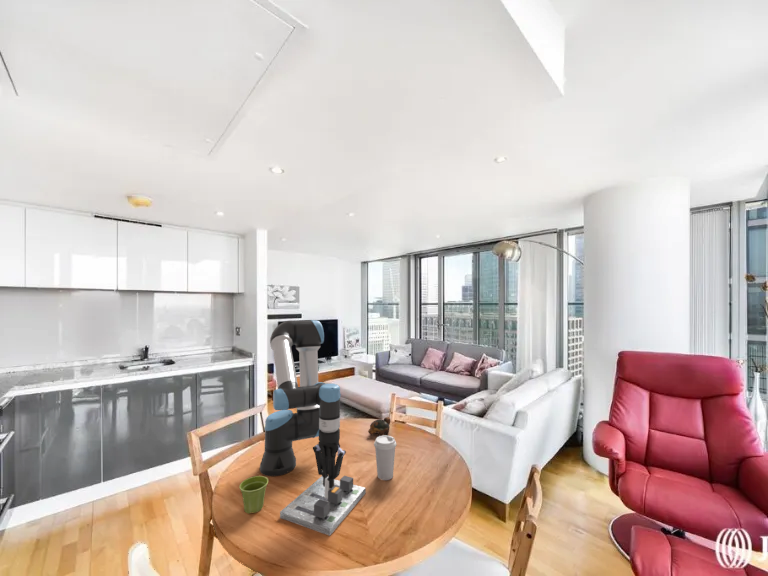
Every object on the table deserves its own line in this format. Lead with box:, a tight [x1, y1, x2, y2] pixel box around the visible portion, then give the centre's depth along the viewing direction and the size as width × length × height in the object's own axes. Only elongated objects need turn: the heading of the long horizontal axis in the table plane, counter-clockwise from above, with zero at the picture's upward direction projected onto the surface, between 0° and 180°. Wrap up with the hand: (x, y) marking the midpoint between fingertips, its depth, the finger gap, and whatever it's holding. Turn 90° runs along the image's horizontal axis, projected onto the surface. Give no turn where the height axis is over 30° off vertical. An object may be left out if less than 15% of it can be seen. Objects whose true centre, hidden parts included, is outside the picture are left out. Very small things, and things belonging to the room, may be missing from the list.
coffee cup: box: [373, 435, 397, 481], centre depth 131 cm, size 10×10×15 cm
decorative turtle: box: [367, 416, 391, 436], centre depth 173 cm, size 10×15×8 cm, turn 137°
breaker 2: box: [328, 487, 342, 504], centre depth 111 cm, size 4×3×4 cm
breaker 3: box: [339, 475, 354, 492], centre depth 118 cm, size 4×3×4 cm
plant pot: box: [238, 475, 269, 515], centre depth 110 cm, size 9×9×9 cm
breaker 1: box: [314, 499, 329, 519], centre depth 103 cm, size 4×3×4 cm
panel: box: [279, 475, 367, 537], centre depth 112 cm, size 20×24×2 cm
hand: (328, 496), depth 112 cm, fingers closed
